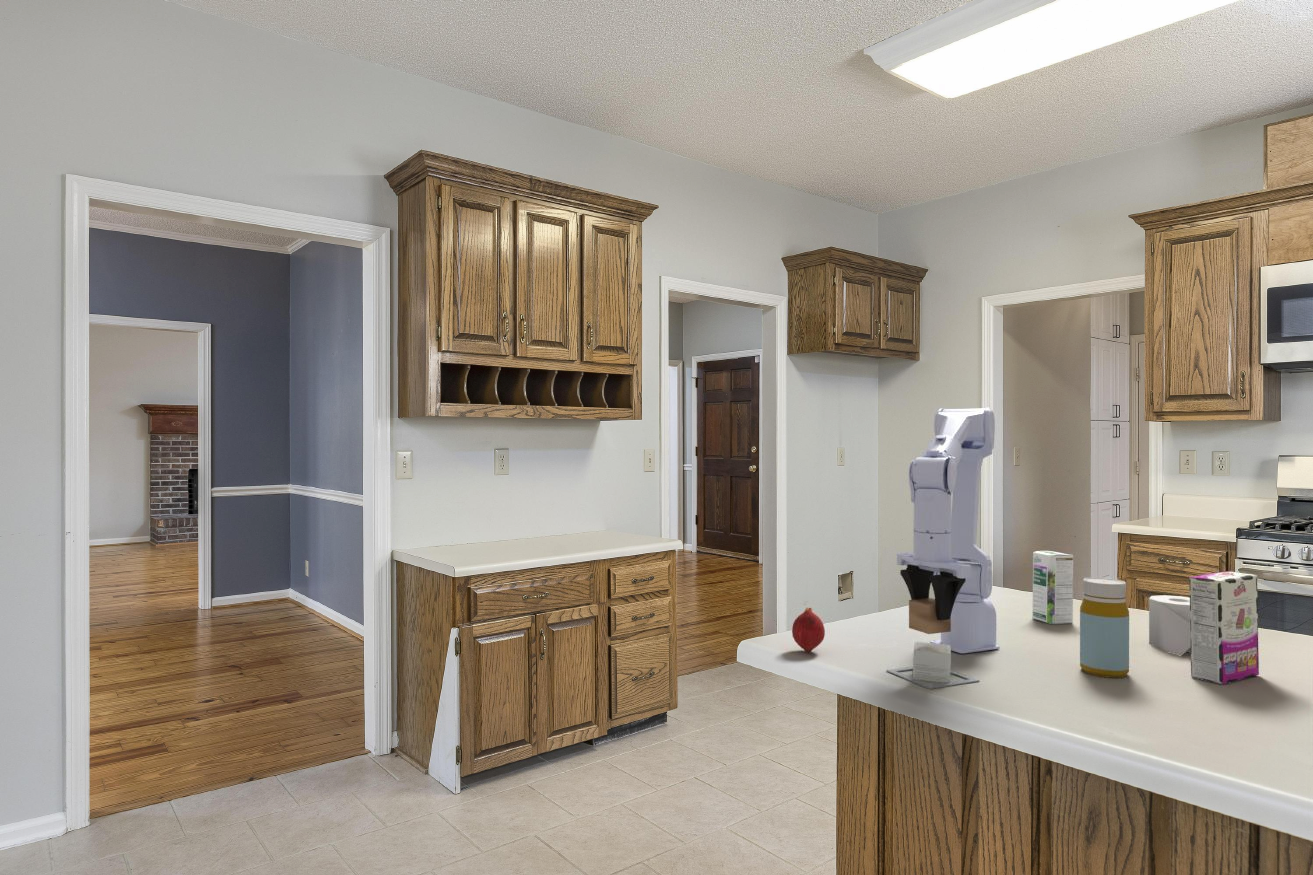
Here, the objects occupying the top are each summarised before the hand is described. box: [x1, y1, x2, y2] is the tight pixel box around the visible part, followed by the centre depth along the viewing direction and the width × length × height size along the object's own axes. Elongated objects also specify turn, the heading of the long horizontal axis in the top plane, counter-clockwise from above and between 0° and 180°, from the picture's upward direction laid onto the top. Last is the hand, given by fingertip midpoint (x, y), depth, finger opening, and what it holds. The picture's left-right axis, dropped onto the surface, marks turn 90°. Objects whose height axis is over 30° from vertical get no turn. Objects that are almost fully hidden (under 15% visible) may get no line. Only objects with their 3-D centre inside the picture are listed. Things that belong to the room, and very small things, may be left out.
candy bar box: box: [1188, 571, 1260, 685], centre depth 127 cm, size 11×5×16 cm, turn 118°
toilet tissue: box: [1148, 594, 1191, 657], centre depth 144 cm, size 9×13×9 cm
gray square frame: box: [885, 666, 980, 690], centre depth 126 cm, size 10×10×1 cm
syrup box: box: [1031, 550, 1074, 625], centre depth 166 cm, size 6×6×14 cm
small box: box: [912, 641, 952, 684], centre depth 126 cm, size 6×6×5 cm
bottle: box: [1079, 577, 1130, 679], centre depth 129 cm, size 7×7×15 cm
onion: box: [791, 606, 826, 653], centre depth 140 cm, size 6×6×8 cm
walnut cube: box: [908, 597, 951, 635], centre depth 126 cm, size 4×4×4 cm
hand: (931, 616), depth 126 cm, fingers closed on walnut cube, 4 cm apart
